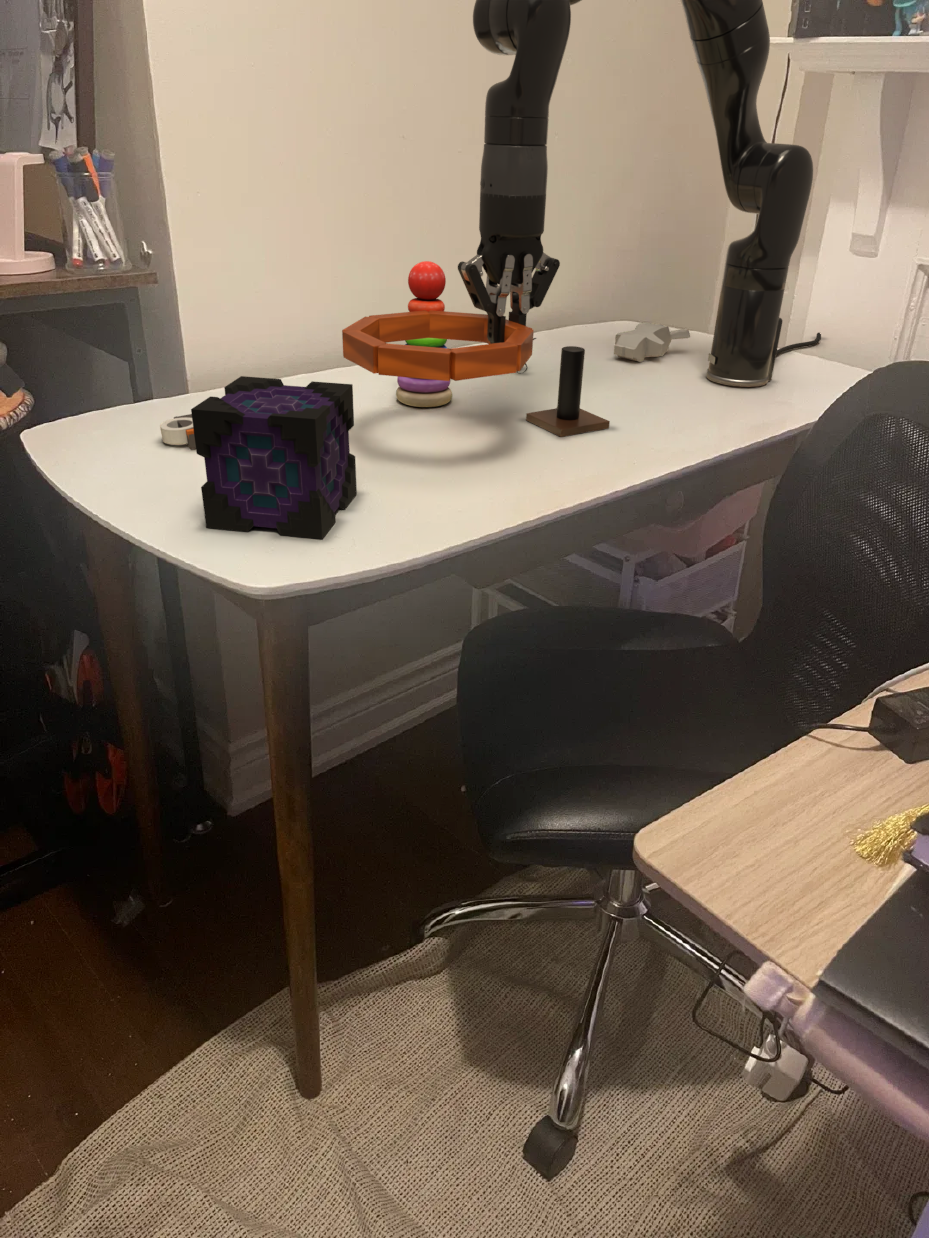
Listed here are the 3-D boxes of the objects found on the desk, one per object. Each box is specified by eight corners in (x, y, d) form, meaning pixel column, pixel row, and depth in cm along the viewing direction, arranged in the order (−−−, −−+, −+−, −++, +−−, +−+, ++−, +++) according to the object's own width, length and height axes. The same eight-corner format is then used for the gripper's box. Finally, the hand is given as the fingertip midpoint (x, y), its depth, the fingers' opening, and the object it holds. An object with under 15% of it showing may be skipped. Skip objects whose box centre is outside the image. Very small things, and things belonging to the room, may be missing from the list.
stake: (572, 412, 126) (579, 339, 121) (609, 428, 120) (617, 352, 115) (525, 420, 122) (530, 345, 117) (560, 437, 116) (567, 359, 112)
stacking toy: (445, 411, 125) (447, 268, 116) (389, 406, 126) (387, 264, 117) (457, 396, 132) (460, 259, 122) (404, 391, 133) (403, 256, 124)
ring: (468, 329, 119) (468, 306, 118) (563, 366, 104) (565, 339, 102) (320, 345, 109) (319, 320, 108) (401, 388, 94) (401, 359, 92)
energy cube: (322, 539, 88) (315, 419, 82) (206, 528, 89) (190, 409, 83) (356, 494, 98) (352, 384, 92) (251, 484, 100) (241, 376, 94)
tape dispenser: (153, 418, 112) (269, 397, 118) (158, 440, 113) (272, 418, 119) (167, 433, 107) (287, 411, 113) (172, 457, 108) (290, 433, 114)
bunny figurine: (600, 333, 152) (651, 310, 161) (600, 362, 155) (650, 339, 164) (648, 342, 146) (698, 319, 155) (646, 373, 149) (695, 349, 158)
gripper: (479, 194, 96) (474, 358, 105) (582, 191, 103) (569, 346, 111) (443, 188, 102) (442, 344, 110) (543, 185, 108) (534, 333, 117)
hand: (506, 344), depth 111 cm, fingers closed on ring, 2 cm apart
